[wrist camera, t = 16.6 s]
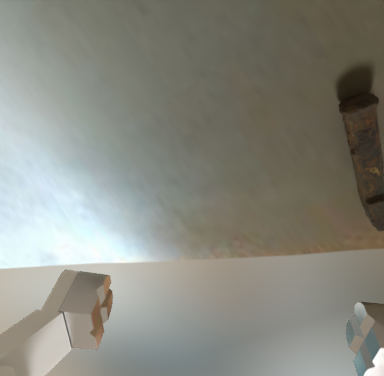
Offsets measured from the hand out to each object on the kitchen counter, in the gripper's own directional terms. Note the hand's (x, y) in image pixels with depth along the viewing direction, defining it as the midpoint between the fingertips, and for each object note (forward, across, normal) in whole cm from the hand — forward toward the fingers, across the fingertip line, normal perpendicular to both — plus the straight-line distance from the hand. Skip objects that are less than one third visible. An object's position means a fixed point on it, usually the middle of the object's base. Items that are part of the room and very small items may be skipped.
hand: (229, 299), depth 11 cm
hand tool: (+33, -19, +11) cm, 40 cm away
